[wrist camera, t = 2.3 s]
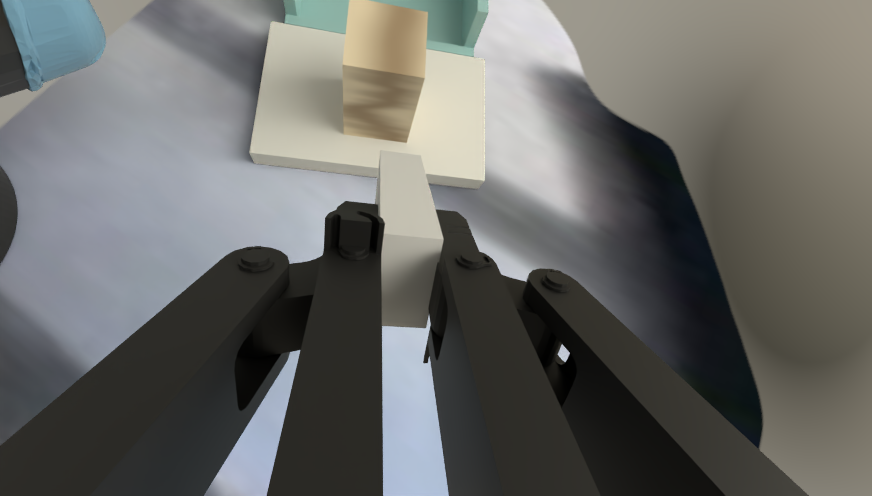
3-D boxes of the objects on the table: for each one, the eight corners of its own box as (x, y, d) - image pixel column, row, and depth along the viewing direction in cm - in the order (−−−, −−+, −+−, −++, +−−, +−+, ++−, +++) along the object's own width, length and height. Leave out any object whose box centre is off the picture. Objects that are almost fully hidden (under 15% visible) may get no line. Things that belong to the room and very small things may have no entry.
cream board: (254, 163, 35) (249, 152, 33) (274, 37, 38) (271, 21, 37) (477, 189, 39) (484, 180, 37) (478, 72, 42) (484, 59, 40)
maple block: (343, 134, 35) (342, 64, 27) (349, 79, 37) (349, -4, 28) (406, 142, 36) (424, 78, 28) (409, 89, 38) (427, 12, 29)
